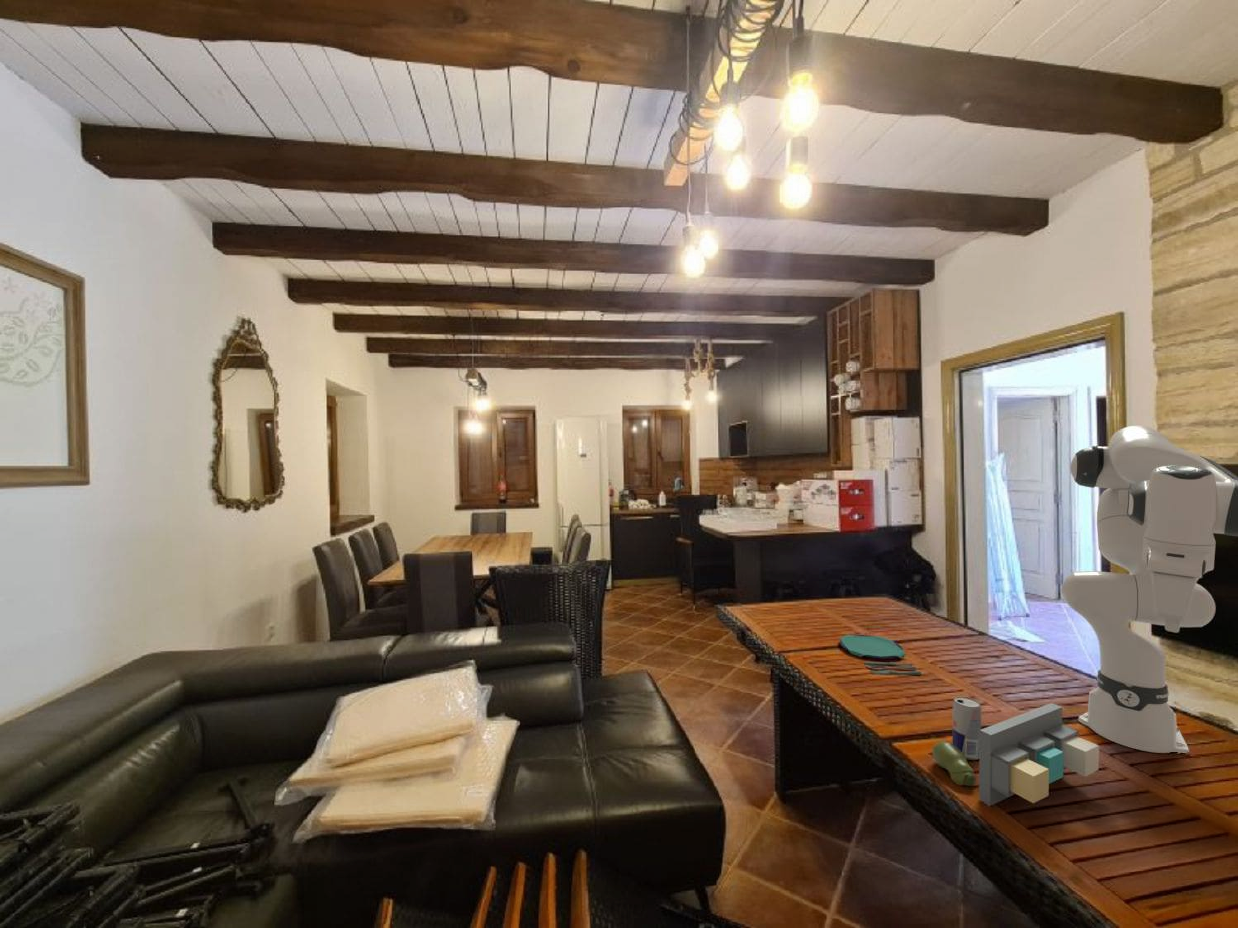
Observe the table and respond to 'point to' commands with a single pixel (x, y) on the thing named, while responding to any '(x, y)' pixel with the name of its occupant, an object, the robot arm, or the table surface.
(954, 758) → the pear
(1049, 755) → the button teal
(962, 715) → the energy drink
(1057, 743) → the control panel
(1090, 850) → the table surface
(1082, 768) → the button cream
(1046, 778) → the button mustard
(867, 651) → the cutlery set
